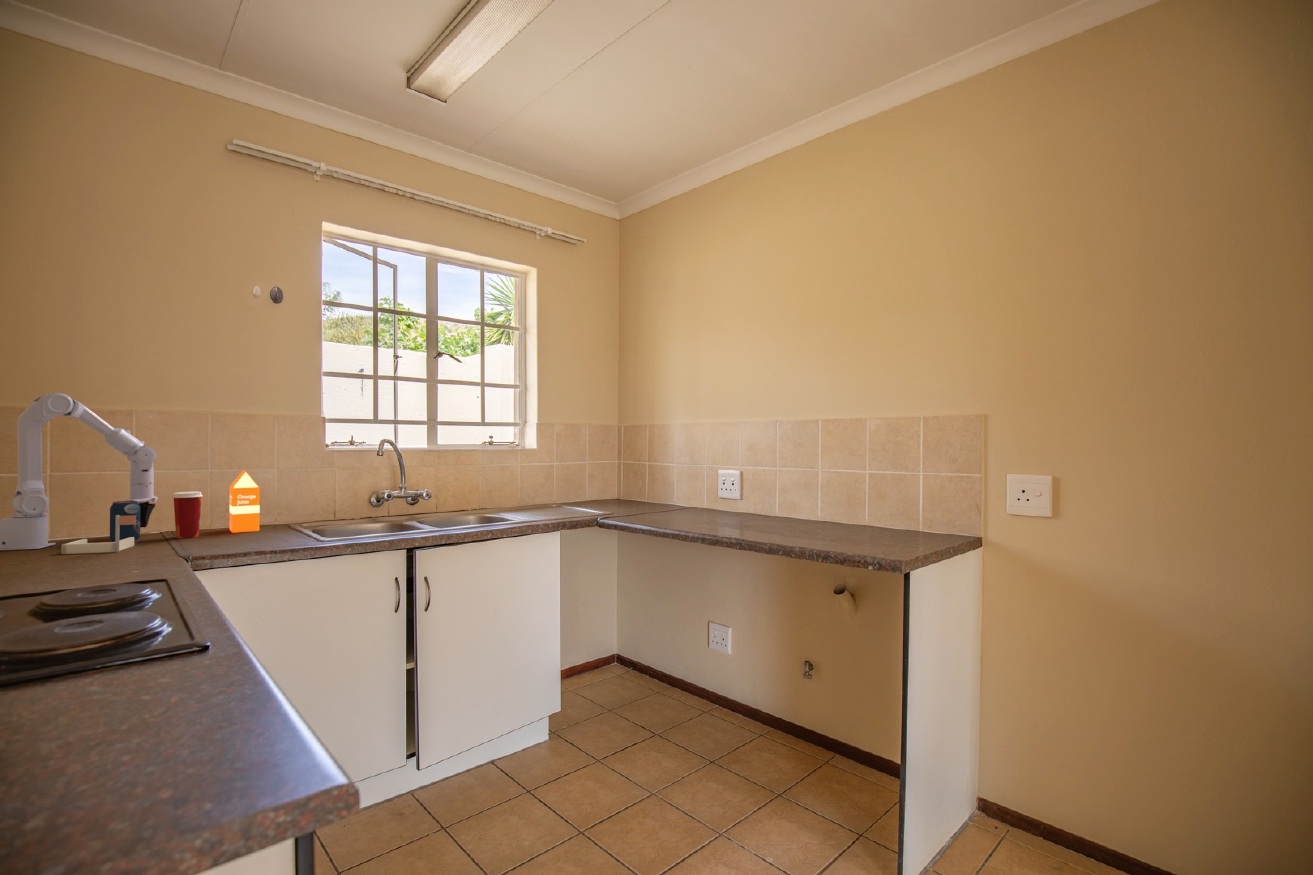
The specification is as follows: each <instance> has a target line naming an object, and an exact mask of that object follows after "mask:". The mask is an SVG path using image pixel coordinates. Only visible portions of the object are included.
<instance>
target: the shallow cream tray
mask: <svg viewBox="0 0 1313 875" xmlns="http://www.w3.org/2000/svg"><path fill="white" fill-rule="evenodd" d="M132 524H135V516H119V515H116V531H115V542H112V541H111V542H88V538H82V539H79V540H74V541H70V542H66V543H63V544H61V547H60V548H61V550H60V552H61V553H60V554H61V555H70V554H72V555H73V554H93V553H95V554H99V553H101V554H102V553H120V551H123V550H126V549H129V548H132V547H135V542H134V537H129V538H126V539H123V540H119V525H132Z"/></svg>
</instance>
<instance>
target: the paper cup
mask: <svg viewBox="0 0 1313 875" xmlns="http://www.w3.org/2000/svg"><path fill="white" fill-rule="evenodd" d="M203 496H204V495H202V491H179V492H174V493H173V496H172V498H173V510H174V513H173V514H174V524H175V537H176V539H183V540H184V539H192V538H198V537H199V535H200V525H201V509H202V497H203Z"/></svg>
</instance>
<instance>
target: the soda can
mask: <svg viewBox="0 0 1313 875" xmlns="http://www.w3.org/2000/svg"><path fill="white" fill-rule="evenodd" d="M116 515H119V516H135V524H132V525H119V540H123V539H126V538H129V537H134V543H135V542H138V540H139V539H140V538H141V527H140V505H139V504H138V501H127V500H120V501H119V500H118V501H117V500H116V501H113V502H112V503H111V506H110V508H109V541H111V542H115V531H116Z"/></svg>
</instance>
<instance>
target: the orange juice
mask: <svg viewBox="0 0 1313 875" xmlns="http://www.w3.org/2000/svg"><path fill="white" fill-rule="evenodd" d="M260 491H261V490H260V486H259V485H258V484H257V483H256V482H255V481H254V479H253V478H252V477H251V476H250V475H249V473H248V472H247V471H246V470H242V471H241V472H240V473H239V474H238V476H237V477H236V478H235V479H234V480H233V482H232V483H231V484H230V485H229V531H230V532H231V533H235V534H236V533H246V532H259V531H260V514H261V513H260V510H261V509H260V508H261V507H260Z"/></svg>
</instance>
